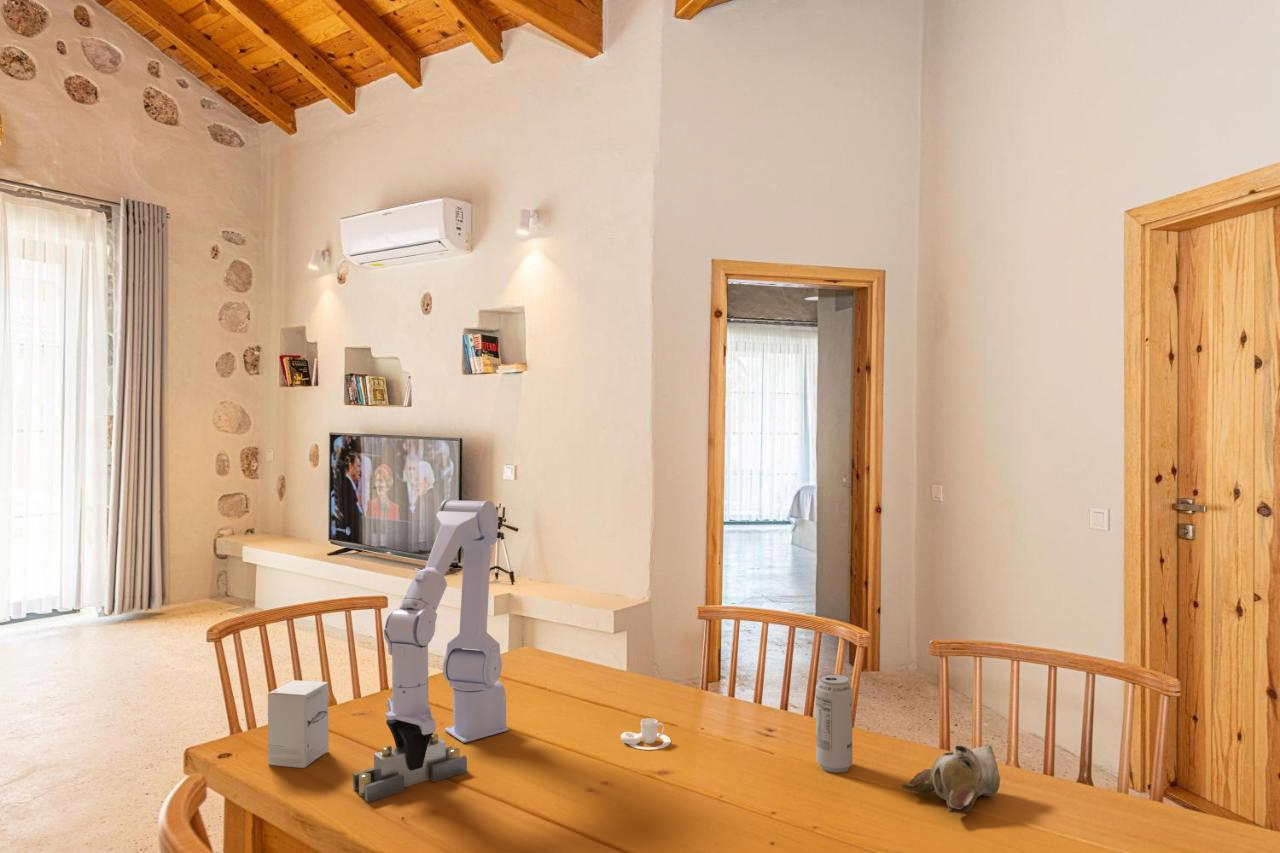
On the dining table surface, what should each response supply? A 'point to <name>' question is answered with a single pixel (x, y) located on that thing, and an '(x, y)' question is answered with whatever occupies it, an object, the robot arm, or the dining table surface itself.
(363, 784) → the end link
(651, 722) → the teacup and saucer
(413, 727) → the robot arm
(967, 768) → the ceramic sculpture
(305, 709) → the supplement box
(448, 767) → the end link
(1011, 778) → the dining table surface
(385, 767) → the block with brass knobs
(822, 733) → the energy drink can
